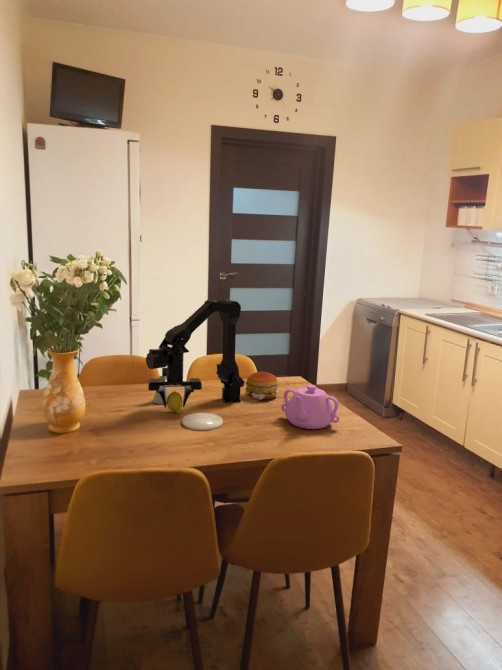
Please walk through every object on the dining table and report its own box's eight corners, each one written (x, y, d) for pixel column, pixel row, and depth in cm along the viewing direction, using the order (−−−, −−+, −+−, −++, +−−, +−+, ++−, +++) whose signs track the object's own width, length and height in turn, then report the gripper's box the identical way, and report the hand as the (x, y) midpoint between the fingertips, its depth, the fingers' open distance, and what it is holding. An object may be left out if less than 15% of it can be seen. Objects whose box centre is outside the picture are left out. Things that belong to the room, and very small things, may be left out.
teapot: (264, 428, 180) (266, 389, 177) (290, 410, 199) (292, 374, 196) (325, 442, 170) (328, 401, 167) (346, 422, 189) (349, 385, 186)
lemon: (179, 415, 187) (179, 394, 186) (164, 414, 188) (164, 392, 187) (184, 410, 193) (184, 389, 191) (169, 409, 194) (170, 388, 192)
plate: (219, 415, 190) (219, 412, 190) (225, 429, 176) (225, 426, 176) (180, 416, 187) (180, 413, 187) (183, 431, 174) (183, 428, 173)
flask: (169, 405, 198) (170, 379, 195) (150, 404, 198) (150, 378, 196) (172, 399, 205) (173, 374, 203) (154, 398, 205) (154, 373, 203)
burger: (278, 392, 219) (280, 369, 217) (277, 403, 206) (278, 378, 204) (246, 390, 220) (247, 367, 218) (243, 400, 207) (244, 376, 205)
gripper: (199, 359, 196) (197, 399, 200) (148, 359, 193) (147, 400, 196) (202, 367, 186) (201, 409, 189) (148, 367, 182) (148, 410, 185)
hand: (174, 407), depth 190 cm, fingers open, 6 cm apart
